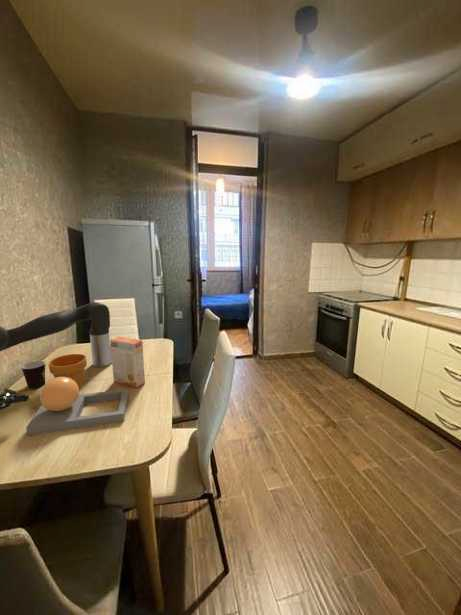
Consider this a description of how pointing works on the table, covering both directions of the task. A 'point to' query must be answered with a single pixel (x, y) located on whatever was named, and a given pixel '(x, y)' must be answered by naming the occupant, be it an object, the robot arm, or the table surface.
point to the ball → (59, 394)
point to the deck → (78, 414)
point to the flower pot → (69, 367)
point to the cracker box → (127, 361)
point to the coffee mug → (34, 374)
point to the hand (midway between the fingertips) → (27, 397)
